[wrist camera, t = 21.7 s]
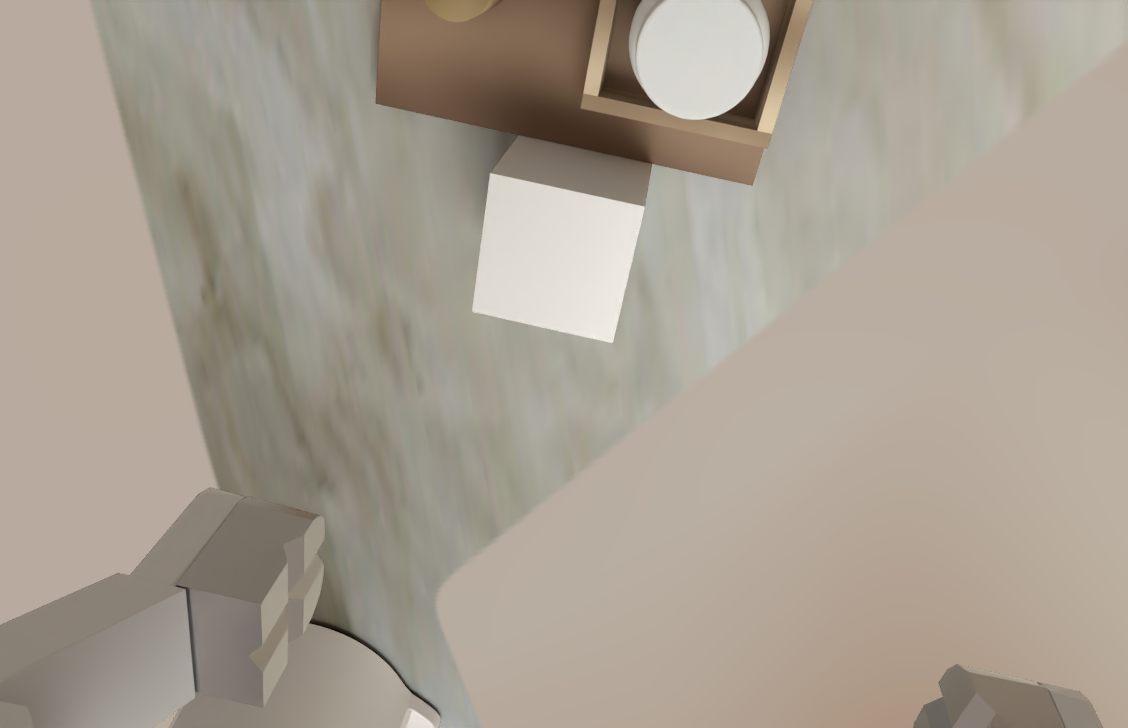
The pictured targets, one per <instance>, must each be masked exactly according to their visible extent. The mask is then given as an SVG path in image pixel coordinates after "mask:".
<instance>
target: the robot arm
mask: <svg viewBox="0 0 1128 728" xmlns="http://www.w3.org/2000/svg"><path fill="white" fill-rule="evenodd" d="M324 539H325V519H324V518H323V517H321V516H320V515H317V514H313V513H309V512H305V511H302V510H298V509H294V508H290V507H286V506H282V505H279V504H275V503H271V502H267V501H263V500H259V499H256V498H252V497H245V496H241V495H237V494H233V493H229V492H226V491H222V490H218V489H214V488H208V489H207V490H205V491H203V492H201V493H200V494H198V495H197V496H196V498H195V499H194V500H193V501H192V502H191V503H190V505H189V506H188V507H187V508H186V509H185V511H184V512H183V513H182V514H181V515H180V516H179V518H178V519H177V520H176V521H175V522H174V524H173V525H172V526H171V527H170V528H169V530H168V531H167V532H166V533H165V534H164V535H163V537H162V538H161V539H160V540H159V542H158V543H157V544H156V545H155V546H154V547H153V549H152V550H151V551H150V552H149V553H148V554H147V556H146V557H145V558H144V559H143V560H142V562H141V563H140V564H139V565H138V566H137V567H136V569H135V570H134V571H133V572H132V573H131V575H125V574H120V573H117V574H115V575H113V576H110V577H108V578H106V579H103V580H101V581H99V582H96V583H94V584H92V585H90V586H88V587H85V588H83V589H81V590H78V591H76V592H74V593H72V594H70V595H67V596H65V597H62V598H60V599H58V600H56V601H53V602H51V603H49V604H47V605H44V606H42V607H40V608H37V609H35V610H33V611H31V612H28V613H26V614H24V615H22V616H20V617H17V618H15V619H12V620H10V621H8V622H6V623H3V624H1V625H0V728H153V727H154V726H155V725H157V724H159V723H160V722H162V721H163V720H164V719H165V718H167V717H168V716H170V715H171V714H173V713H174V712H176V711H177V710H178V712H177V714H176V715H175V717H174V719H173V721H172V723H171V725H170V727H169V728H438V726H439V724H440V716H439V715H438V713H437V712H436V711H435V710H434V709H433V708H431V707H430V706H429V705H428V704H426V703H425V702H423V701H422V700H421V699H419V698H418V697H416V696H415V695H413V694H412V693H411V692H410V691H409V690H408V689H407V688H406V686H405V685H404V684H403V682H402V681H401V680H400V678H399V677H398V675H397V674H396V673H395V672H394V670H393V669H392V668H391V667H390V666H389V665H388V664H387V663H386V662H385V661H384V660H383V659H382V658H380V657H379V656H378V655H377V654H376V653H374V652H373V651H372V650H370V649H369V648H367V647H366V646H364V645H362V644H361V643H359V642H357V641H356V640H354V639H352V638H350V637H348V636H346V635H343V634H341V633H339V632H336V631H334V630H331V629H328V628H325V627H321V626H318V625H314V624H309V622H310V620H311V618H312V616H313V613H314V610H315V607H316V605H317V602H318V599H319V596H320V592H321V587H322V581H323V572H324V563H323V562H322V560H321V559H320V557H319V556H318V555H317V551H318V549H319V547H320V546H321V544H322V542H323V540H324ZM939 686H940V689H941V692H942V696H943V697H941V698H939V699H937V700H935V701H932V702H930V703H928V704H926V705H924V706H923V708H922V710H921V711H920V713H919V715H918V717H917V719H916V721H915V722H914V726H913V728H1103V726H1102V724H1101V722H1100V720H1099V718H1098V716H1097V714H1096V712H1095V710H1094V708H1093V706H1092V704H1091V702H1090V701H1089V700H1088V698H1087V697H1085V696H1084V695H1083V694H1082V693H1081V692H1080V691H1076V690H1072V689H1067V688H1063V687H1058V686H1053V685H1049V684H1044V683H1040V682H1037V683H1035V682H1033V681H1031V680H1027V679H1022V678H1018V677H1013V676H1009V675H1004V674H1000V673H995V672H991V671H986V670H982V669H978V668H973V667H969V666H964V665H960V664H956V665H954V666H952V667H951V668H949V669H947V671H946V672H945V674H944V675H943V677H942V678H941V680H940V681H939Z"/></svg>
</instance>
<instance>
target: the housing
mask: <svg viewBox="0 0 1128 728" xmlns="http://www.w3.org/2000/svg"><path fill="white" fill-rule="evenodd" d="M651 167H652V164H651V163H646V162H642V161H637V160H632V159H628V158H623V157H619V156H614V155H610V154H605V153H600V152H596V151H591V150H587V149H582V148H577V147H573V146H568V145H564V144H559V143H554V142H550V141H545V140H541V139H536V138H531V137H527V136H522V135H519V136H518V137H517V138H516V140H515V141H514V142H513V144H512V145H511V146H510V148H509V149H508V150H507V151H506V153H505V154H504V155H503V157H502V158H501V159H500V161H499V162H498V163H497V165H496V166H495V167H494V169H493V170H492V171H491V173H490V178H489V185H488V193H487V201H486V208H485V216H484V224H483V231H482V239H481V247H480V254H479V262H478V270H477V277H476V285H475V293H474V300H473V308H472V312H475V313H480V314H484V315H489V316H493V317H498V318H502V319H507V320H511V321H516V322H520V323H525V324H529V325H534V326H538V327H543V328H547V329H552V330H556V331H560V332H565V333H569V334H574V335H578V336H583V337H587V338H592V339H596V340H601V341H605V342H610V343H613V340H614V335H615V331H616V327H617V323H618V318H619V314H620V310H621V306H622V302H623V297H624V293H625V289H626V285H627V280H628V276H629V272H630V268H631V264H632V259H633V255H634V251H635V247H636V242H637V238H638V234H639V230H640V225H641V221H642V217H643V213H644V209H645V203H646V197H647V191H648V185H649V179H650V173H651Z"/></svg>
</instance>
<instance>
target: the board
mask: <svg viewBox="0 0 1128 728" xmlns="http://www.w3.org/2000/svg"><path fill="white" fill-rule="evenodd" d="M640 2H641V0H381V17H380V35H379V53H378V71H377V88H376V104H380V105H384V106H389V107H394V108H398V109H403V110H407V111H412V112H417V113H421V114H426V115H430V116H435V117H440V118H444V119H449V120H453V121H458V122H463V123H467V124H472V125H476V126H481V127H485V128H490V129H495V130H499V131H504V132H508V133H513V134H518V135H522V136H527V137H531V138H536V139H541V140H545V141H550V142H554V143H559V144H564V145H568V146H573V147H577V148H582V149H587V150H591V151H596V152H600V153H605V154H610V155H614V156H619V157H623V158H628V159H632V160H637V161H642V162H646V163H651V164H655V165H660V166H665V167H669V168H674V169H678V170H683V171H688V172H692V173H697V174H701V175H706V176H711V177H715V178H720V179H724V180H729V181H734V182H738V183H743V184H747V185H752V186H753V182H754V179H755V176H756V172H757V169H758V166H759V163H760V159H761V156H762V153H763V150H764V148H767V149H768V145H769V142H770V139H771V136H772V132H773V129H774V126H775V123H776V119H777V116H778V113H779V110H780V106H781V103H782V100H783V97H784V94H785V90H786V87H787V84H788V81H789V77H790V74H791V71H792V68H793V64H794V61H795V58H796V55H797V51H798V48H799V45H800V42H801V38H802V35H803V32H804V29H805V25H806V22H807V19H808V16H809V13H810V9H811V6H812V3H813V0H761V2H762V4H763V7H764V9H765V11H766V13H767V17H768V21H769V26H770V40H769V48H768V54H767V58H766V61H765V64H764V67H763V69H762V71H761V73H760V75H759V77H758V78H757V80H756V81H755V83H754V85H753V87H752V88H751V90H750V91H749V92H748V94H747V95H746V96H745V98H744V99H742V100H741V101H740V102H739V103H738V104H737V105H736V106H734V107H733V108H731V109H730V110H728V111H726V112H725V113H723V114H720V115H718V116H715V117H712V118H707V119H700V120H690V119H683V118H679V117H676V116H674V115H671V114H669V113H667V112H665V111H664V110H662V109H661V108H659V107H658V106H657V105H656V104H655V103H654V102H653V101H652V100H651V99H650V98H649V96H648V95H647V94H646V92H645V91H644V89H643V88H642V87H641V85H640V83H639V82H638V80H637V78H636V76H635V73H634V71H633V68H632V64H631V60H630V54H629V34H630V29H631V24H632V20H633V17H634V15H635V12H636V9H637V7H638V5H639V3H640Z"/></svg>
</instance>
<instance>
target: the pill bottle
mask: <svg viewBox="0 0 1128 728" xmlns="http://www.w3.org/2000/svg"><path fill="white" fill-rule="evenodd" d="M769 40H770V26H769V21H768V17H767V13H766V11H765V9H764V7H763V4H762V2H761V0H641V2H640V3H639V5H638V7H637V9H636V12H635V15H634V17H633V20H632V24H631V29H630V34H629V54H630V60H631V64H632V68H633V71H634V73H635V76H636V78H637V80H638V82H639V83H640V85H641V87H642V88H643V89H644V91H645V92H646V94H647V95H648V96H649V98H650V99H651V100H652V101H653V102H654V103H655V104H656V105H657V106H658V107H659V108H661V109H662V110H664V111H665V112H667V113H669V114H671V115H674V116H676V117H679V118H683V119H690V120H700V119H707V118H712V117H715V116H718V115H720V114H723V113H725V112H726V111H728V110H730V109H731V108H733V107H734V106H736V105H737V104H738V103H739V102H740V101H741V100H742V99H744V98H745V96H746V95H747V94H748V92H749V91H750V90H751V88H752V87H753V85H754V83H755V81H756V80H757V78H758V77H759V75H760V73H761V71H762V69H763V67H764V64H765V61H766V58H767V54H768V48H769Z"/></svg>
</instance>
